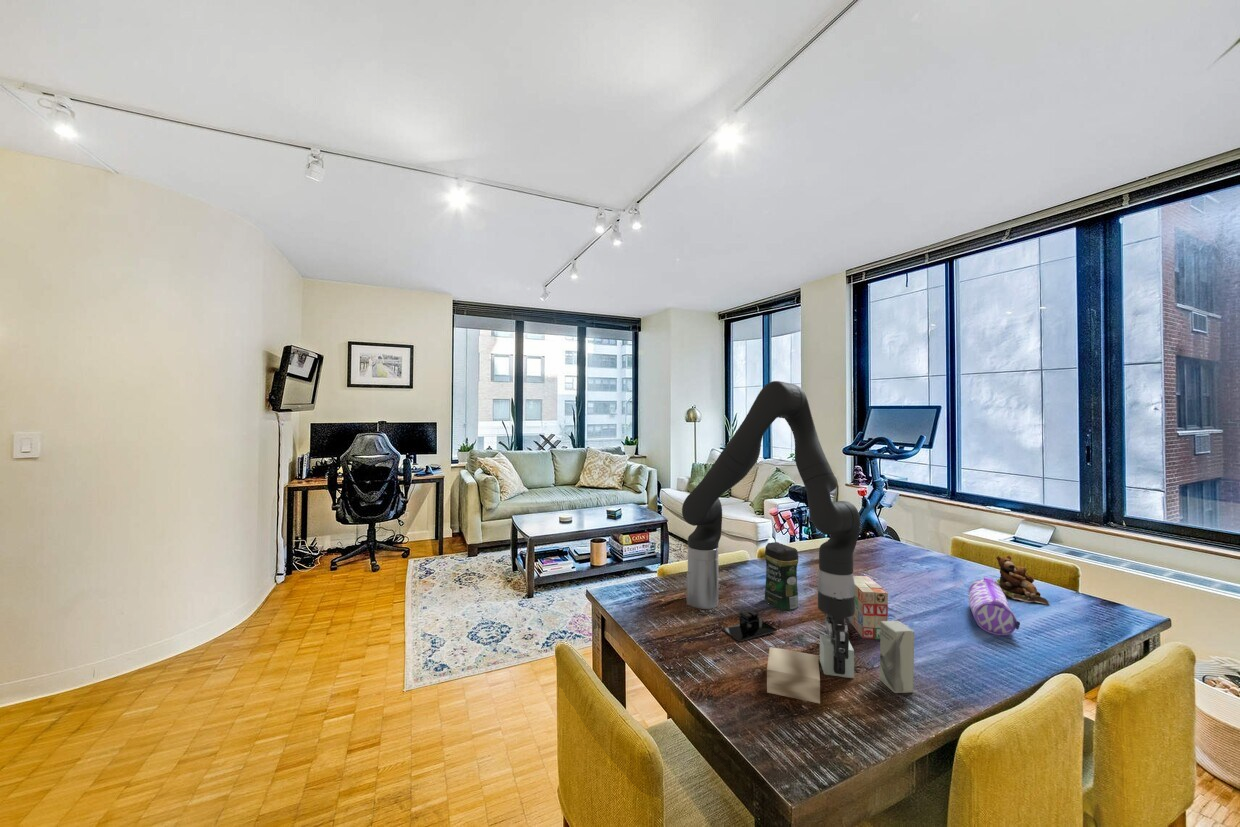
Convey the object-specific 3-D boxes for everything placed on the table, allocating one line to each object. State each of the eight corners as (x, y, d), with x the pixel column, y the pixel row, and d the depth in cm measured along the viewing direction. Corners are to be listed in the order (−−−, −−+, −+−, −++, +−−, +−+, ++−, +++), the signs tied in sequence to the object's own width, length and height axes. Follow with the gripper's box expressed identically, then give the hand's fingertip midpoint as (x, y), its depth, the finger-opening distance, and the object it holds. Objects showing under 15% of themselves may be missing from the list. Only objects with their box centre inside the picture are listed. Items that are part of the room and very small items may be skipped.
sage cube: (824, 674, 100) (824, 646, 100) (819, 660, 106) (819, 634, 106) (854, 678, 98) (853, 650, 99) (847, 664, 104) (847, 637, 104)
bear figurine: (1007, 603, 141) (1006, 563, 141) (980, 586, 155) (980, 550, 156) (1059, 607, 138) (1059, 567, 138) (1027, 589, 152) (1027, 553, 152)
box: (878, 680, 98) (878, 620, 98) (897, 679, 98) (897, 619, 98) (895, 694, 93) (895, 631, 93) (915, 693, 93) (915, 630, 93)
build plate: (739, 642, 114) (738, 623, 114) (721, 629, 121) (720, 612, 121) (777, 630, 119) (776, 613, 119) (758, 619, 126) (757, 602, 126)
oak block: (767, 693, 93) (766, 669, 93) (769, 669, 103) (769, 646, 103) (820, 705, 90) (819, 679, 90) (817, 678, 99) (817, 655, 99)
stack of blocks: (834, 605, 138) (834, 564, 138) (856, 606, 137) (856, 565, 137) (862, 638, 117) (862, 590, 117) (888, 640, 116) (888, 592, 116)
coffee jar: (760, 601, 140) (760, 541, 140) (779, 598, 143) (779, 539, 144) (782, 614, 131) (782, 549, 132) (803, 609, 134) (803, 546, 135)
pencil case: (1020, 642, 116) (1020, 604, 116) (974, 633, 120) (974, 597, 121) (1003, 611, 134) (1003, 579, 135) (964, 604, 139) (964, 573, 139)
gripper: (813, 578, 110) (813, 647, 110) (823, 600, 96) (823, 680, 96) (847, 581, 108) (847, 652, 108) (862, 604, 95) (862, 685, 94)
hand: (836, 665), depth 102 cm, fingers closed on sage cube, 6 cm apart
